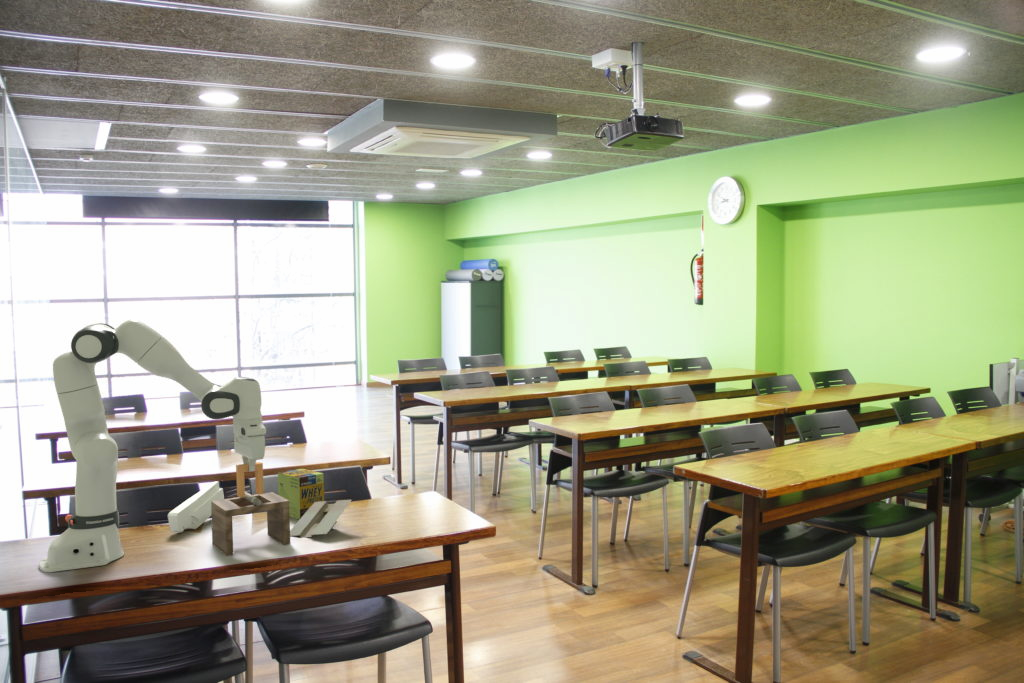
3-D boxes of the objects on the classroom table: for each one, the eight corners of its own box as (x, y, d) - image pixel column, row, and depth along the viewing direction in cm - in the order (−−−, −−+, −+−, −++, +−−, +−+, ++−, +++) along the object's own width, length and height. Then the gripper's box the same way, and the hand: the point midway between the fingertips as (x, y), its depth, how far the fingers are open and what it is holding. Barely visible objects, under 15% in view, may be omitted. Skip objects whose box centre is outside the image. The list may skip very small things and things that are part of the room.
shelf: (226, 555, 237) (225, 504, 237) (212, 544, 250) (210, 494, 250) (290, 543, 249) (289, 494, 249) (273, 533, 262) (272, 486, 262)
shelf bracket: (229, 515, 288) (223, 481, 285) (186, 551, 262) (179, 514, 259) (214, 514, 289) (209, 481, 286) (170, 550, 263) (164, 513, 260)
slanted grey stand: (343, 551, 256) (363, 508, 267) (326, 533, 250) (347, 491, 262) (302, 552, 264) (323, 511, 276) (285, 536, 259) (307, 494, 271)
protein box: (300, 520, 278) (299, 477, 278) (278, 513, 289) (277, 472, 288) (325, 514, 286) (324, 473, 285) (302, 508, 296) (301, 467, 296)
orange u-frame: (239, 497, 246) (238, 466, 245) (237, 495, 248) (236, 465, 248) (263, 493, 250) (262, 463, 250) (260, 492, 253) (259, 461, 252)
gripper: (228, 424, 255) (229, 466, 255) (247, 431, 238) (249, 476, 239) (247, 423, 259) (249, 464, 259) (268, 429, 242) (269, 473, 243)
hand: (249, 470), depth 249 cm, fingers closed on orange u-frame, 3 cm apart
